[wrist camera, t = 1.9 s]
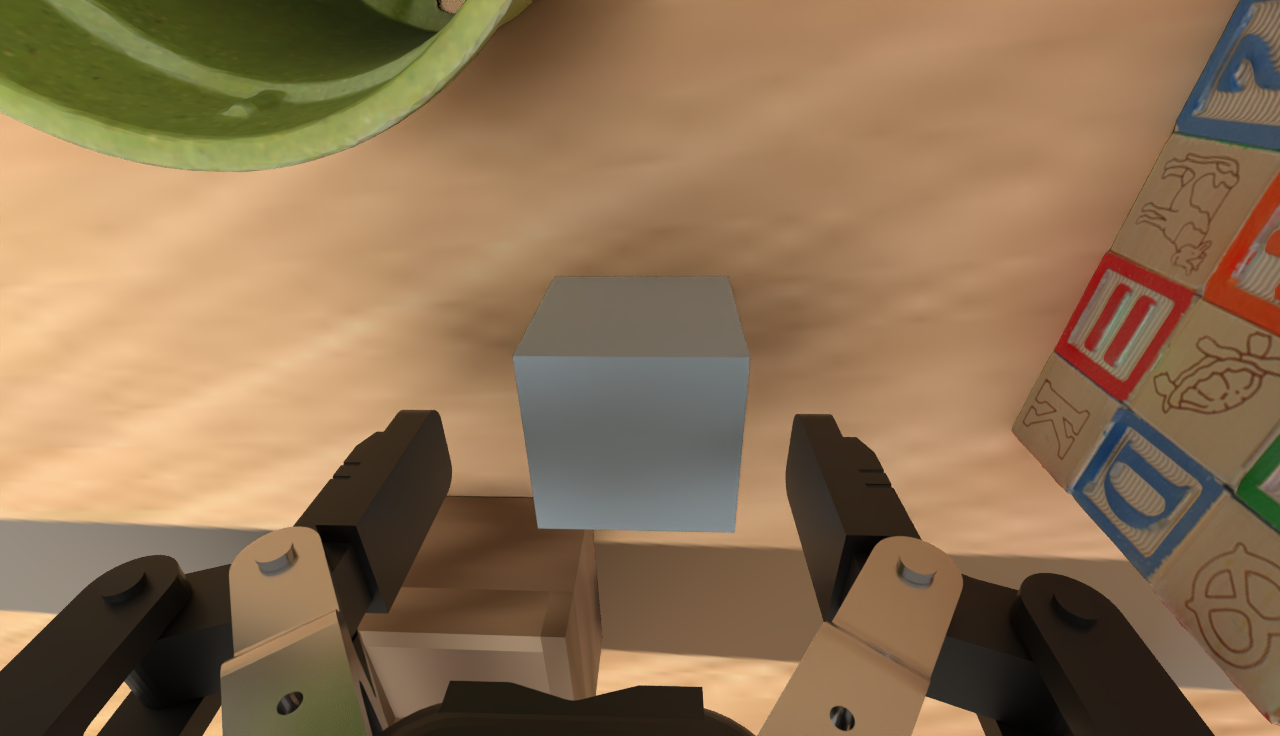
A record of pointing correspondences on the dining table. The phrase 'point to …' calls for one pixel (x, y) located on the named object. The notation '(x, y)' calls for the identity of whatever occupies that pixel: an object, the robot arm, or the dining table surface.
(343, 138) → the plant pot
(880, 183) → the dining table surface
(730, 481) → the bluegrey cube
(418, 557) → the walnut base
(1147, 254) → the stack of blocks
